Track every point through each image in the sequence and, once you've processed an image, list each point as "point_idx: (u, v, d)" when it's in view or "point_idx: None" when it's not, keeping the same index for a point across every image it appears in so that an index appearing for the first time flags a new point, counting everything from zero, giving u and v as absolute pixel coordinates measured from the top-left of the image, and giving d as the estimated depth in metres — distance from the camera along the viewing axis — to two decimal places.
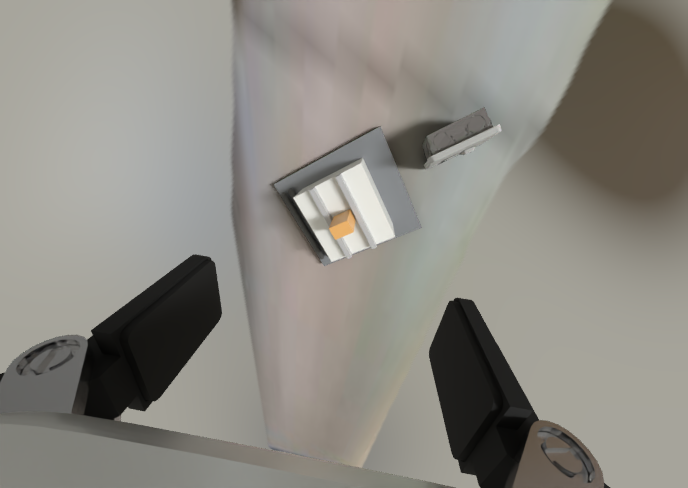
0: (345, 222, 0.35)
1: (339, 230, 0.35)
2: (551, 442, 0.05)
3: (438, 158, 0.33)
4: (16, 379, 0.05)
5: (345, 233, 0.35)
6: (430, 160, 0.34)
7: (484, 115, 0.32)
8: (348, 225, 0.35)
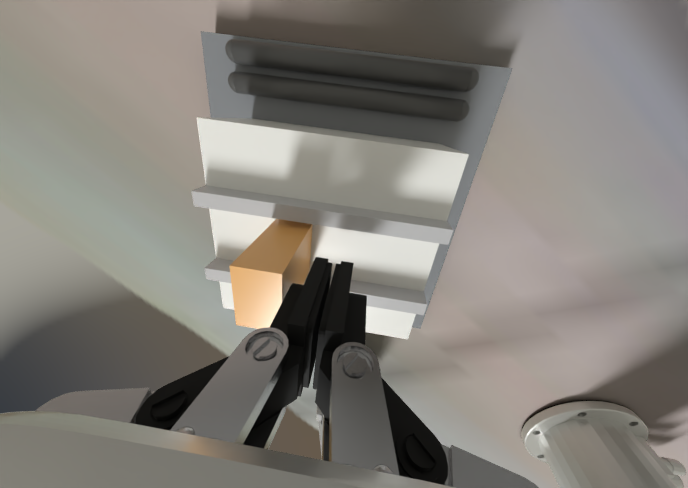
0: None
1: (259, 297, 0.10)
2: (347, 359, 0.06)
3: None
4: (253, 363, 0.06)
5: (241, 305, 0.10)
6: None
7: None
8: (264, 326, 0.10)
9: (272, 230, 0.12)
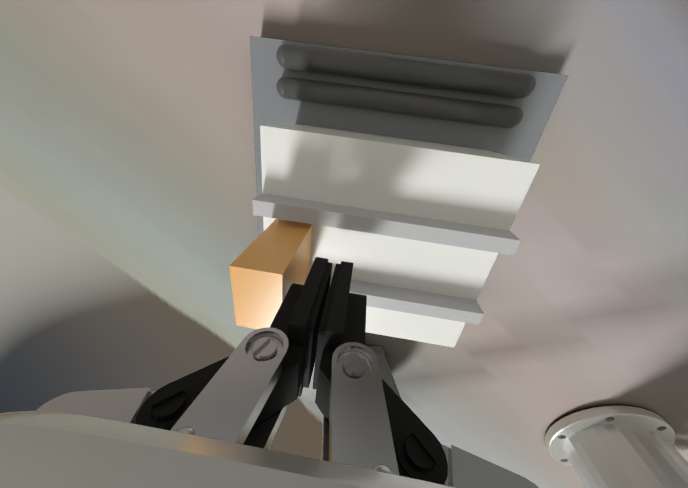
0: None
1: (259, 298, 0.10)
2: (347, 359, 0.06)
3: None
4: (254, 363, 0.06)
5: (241, 305, 0.10)
6: None
7: None
8: (264, 326, 0.10)
9: (272, 230, 0.12)
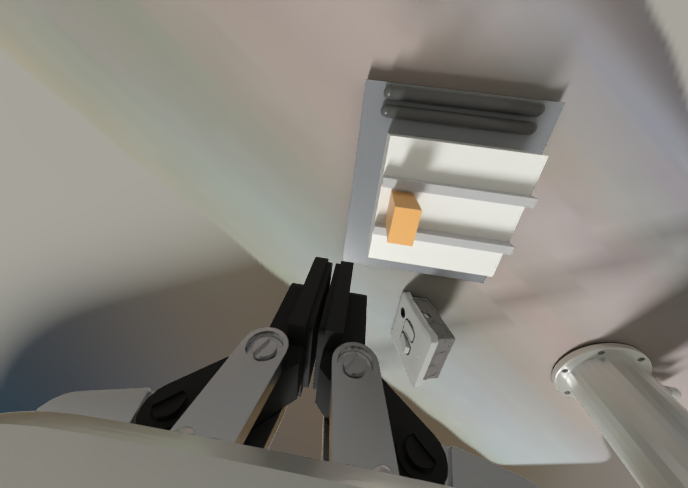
0: (410, 242, 0.19)
1: (405, 224, 0.19)
2: (347, 359, 0.06)
3: (431, 346, 0.29)
4: (253, 363, 0.06)
5: (394, 229, 0.19)
6: (434, 338, 0.29)
7: (431, 376, 0.33)
8: (403, 242, 0.19)
9: (396, 195, 0.21)
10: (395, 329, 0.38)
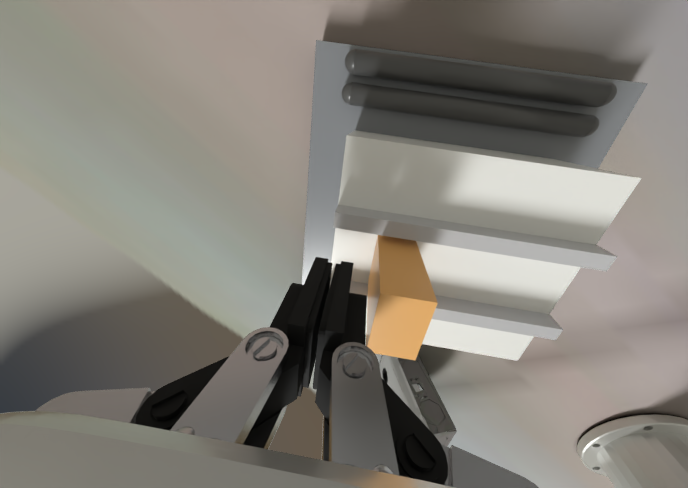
0: (410, 353, 0.10)
1: (402, 325, 0.09)
2: (347, 359, 0.06)
3: None
4: (253, 363, 0.06)
5: (379, 332, 0.09)
6: None
7: None
8: (397, 353, 0.10)
9: (386, 249, 0.12)
10: None
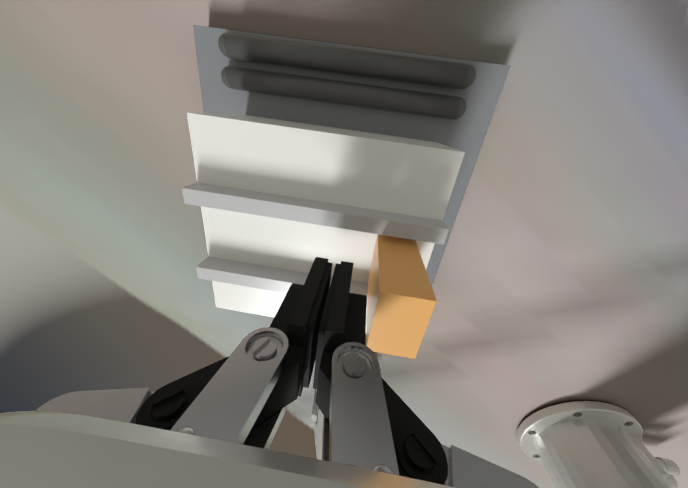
0: (410, 352, 0.10)
1: (402, 323, 0.09)
2: (347, 359, 0.06)
3: None
4: (253, 363, 0.06)
5: (379, 331, 0.09)
6: None
7: None
8: (396, 352, 0.10)
9: (385, 248, 0.12)
10: (313, 380, 0.29)
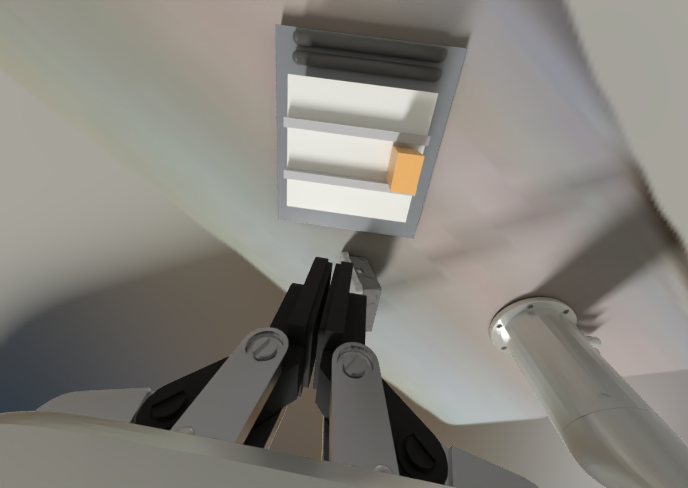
0: (412, 190, 0.20)
1: (408, 171, 0.19)
2: (347, 359, 0.06)
3: None
4: (253, 363, 0.06)
5: (397, 177, 0.19)
6: (358, 287, 0.30)
7: None
8: (405, 191, 0.20)
9: (398, 147, 0.21)
10: None
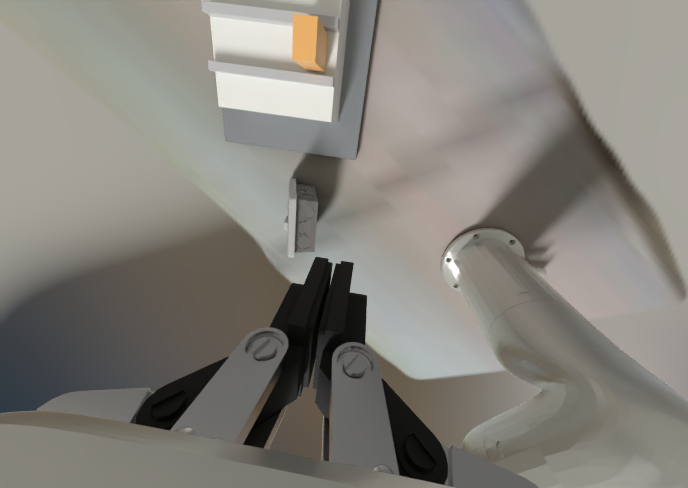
0: (312, 57, 0.21)
1: (305, 35, 0.20)
2: (347, 359, 0.06)
3: (290, 203, 0.31)
4: (253, 364, 0.06)
5: (296, 42, 0.20)
6: (293, 195, 0.31)
7: (307, 249, 0.35)
8: (306, 58, 0.21)
9: None
10: None
